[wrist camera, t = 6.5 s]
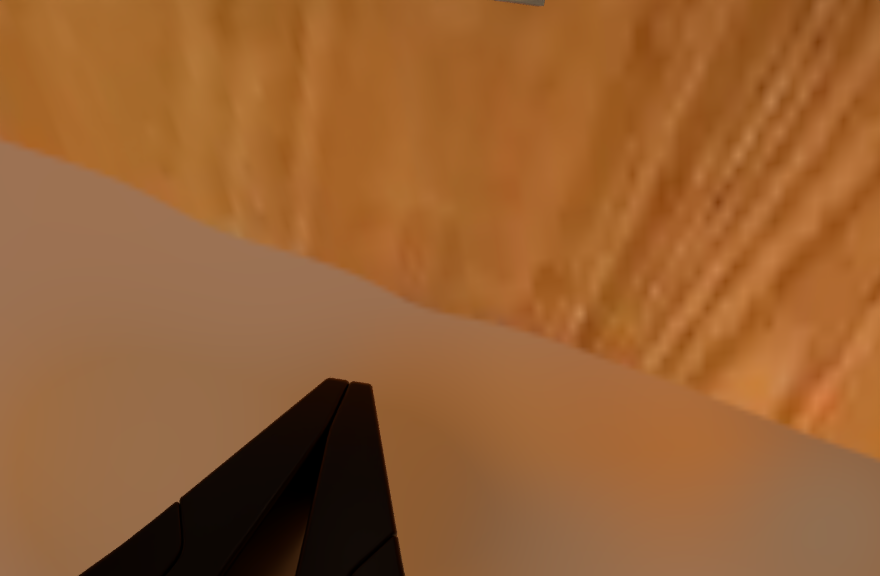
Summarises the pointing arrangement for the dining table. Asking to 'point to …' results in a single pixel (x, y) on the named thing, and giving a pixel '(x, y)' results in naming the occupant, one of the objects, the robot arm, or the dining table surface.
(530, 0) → the rack
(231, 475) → the robot arm
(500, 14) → the dining table surface
